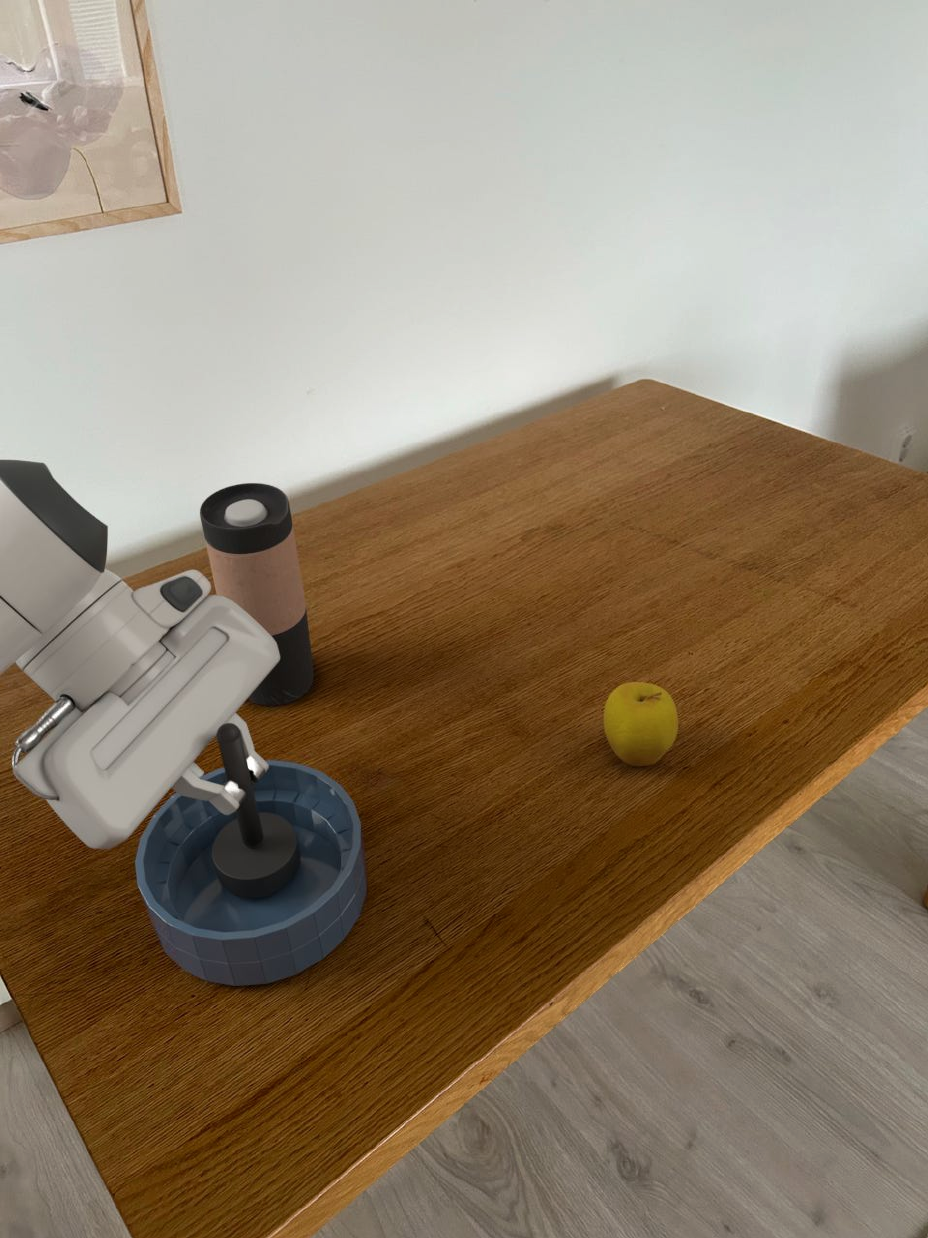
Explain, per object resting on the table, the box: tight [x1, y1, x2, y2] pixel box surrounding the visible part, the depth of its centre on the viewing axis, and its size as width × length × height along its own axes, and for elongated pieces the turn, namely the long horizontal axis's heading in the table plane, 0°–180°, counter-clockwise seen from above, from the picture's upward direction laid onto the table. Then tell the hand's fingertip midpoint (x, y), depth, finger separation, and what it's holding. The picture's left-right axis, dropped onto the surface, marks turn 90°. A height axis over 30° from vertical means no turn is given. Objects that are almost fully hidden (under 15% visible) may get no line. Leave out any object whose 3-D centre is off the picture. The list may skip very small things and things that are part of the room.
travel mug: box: [199, 482, 314, 707], centre depth 89 cm, size 8×8×20 cm
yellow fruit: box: [603, 681, 679, 767], centre depth 84 cm, size 6×6×8 cm
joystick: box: [212, 723, 301, 899], centre depth 71 cm, size 6×6×15 cm
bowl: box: [134, 759, 368, 987], centre depth 74 cm, size 16×16×6 cm
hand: (249, 791), depth 70 cm, fingers closed on joystick
